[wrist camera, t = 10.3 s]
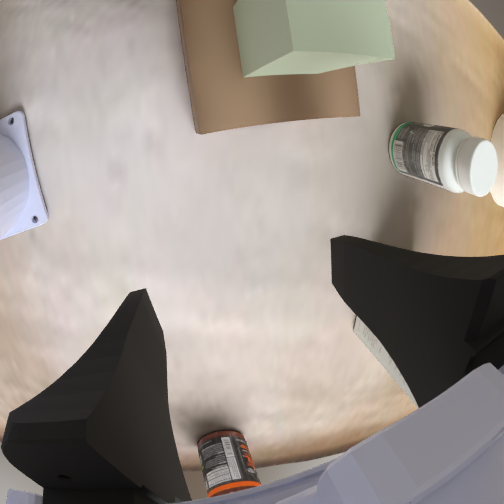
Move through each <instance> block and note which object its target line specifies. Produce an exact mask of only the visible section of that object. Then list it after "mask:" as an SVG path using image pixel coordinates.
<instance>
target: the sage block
mask: <svg viewBox="0 0 504 504" xmlns="http://www.w3.org/2000/svg"><path fill="white" fill-rule="evenodd" d="M233 11H234V18H235V25H236V31H237V38H238V45H239V52H240V59H241V66H242V73H243V77H254V76H268V75H287V74H319V73H323V72H328V71H332V70H337V69H341V68H346V67H351V66H356V65H362V64H367V63H373V62H379V61H386V60H393V59H396V58H395V51H394V44H393V38H392V32H391V27H390V21H389V16H388V12H387V7H386V2H385V0H237V2H236V3H235V5H234V6H233Z"/></svg>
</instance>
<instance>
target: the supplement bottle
mask: <svg viewBox="0 0 504 504" xmlns="http://www.w3.org/2000/svg"><path fill="white" fill-rule="evenodd" d="M198 453H199V458H200V462H201V467H202V472H203V476H204V480H205V484H206V489H207V493H208V497H209V498H210V497H215V496H220V495H224V494H229V493H233V492H237V491H241V490H245V489H249V488H253V487H257V486H260V485H261V483H260V480H259V478H258V475H257V472H256V470H255V466H254V464H253V461H252V458H251V455H250V452H249V449H248V446H247V443H246V441H245V438H244V436H243V435H242V434H240V433H238V432H235V431H217V432H213V433H210V434H208V435H206V436H204V437H203V438H202V439H201V440H200V441H199V443H198Z"/></svg>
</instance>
